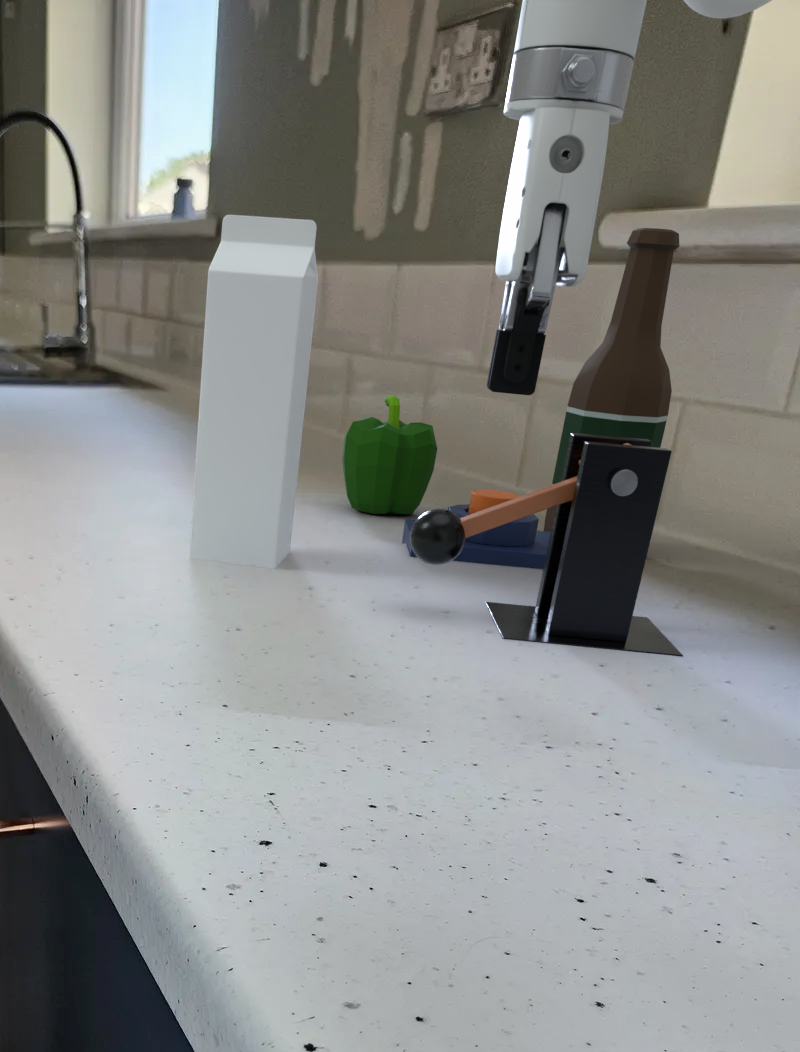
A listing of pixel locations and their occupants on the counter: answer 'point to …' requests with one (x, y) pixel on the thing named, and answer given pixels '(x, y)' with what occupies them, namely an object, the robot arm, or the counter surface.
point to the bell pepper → (388, 463)
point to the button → (488, 499)
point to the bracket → (597, 552)
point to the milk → (253, 389)
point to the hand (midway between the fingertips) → (509, 391)
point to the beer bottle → (627, 357)
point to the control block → (499, 542)
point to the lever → (479, 522)
